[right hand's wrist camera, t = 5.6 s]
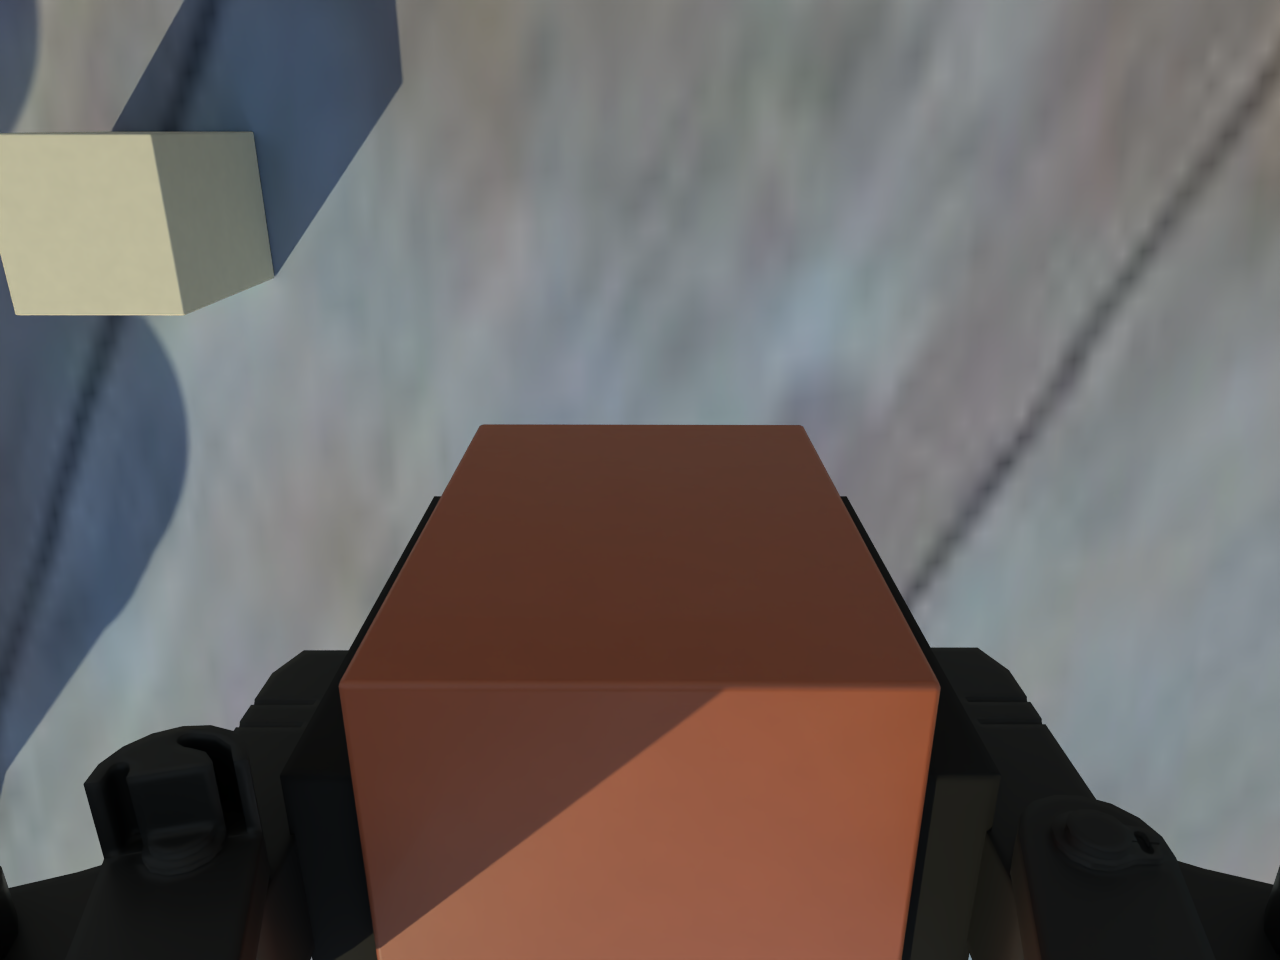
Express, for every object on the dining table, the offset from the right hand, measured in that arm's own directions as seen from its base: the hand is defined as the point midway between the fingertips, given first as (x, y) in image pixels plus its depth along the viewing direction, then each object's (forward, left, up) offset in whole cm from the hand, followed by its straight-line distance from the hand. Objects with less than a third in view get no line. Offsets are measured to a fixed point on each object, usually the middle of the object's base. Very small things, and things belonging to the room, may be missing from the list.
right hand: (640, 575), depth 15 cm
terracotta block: (0, 0, 0) cm, 0 cm away
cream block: (-16, +4, -20) cm, 26 cm away
